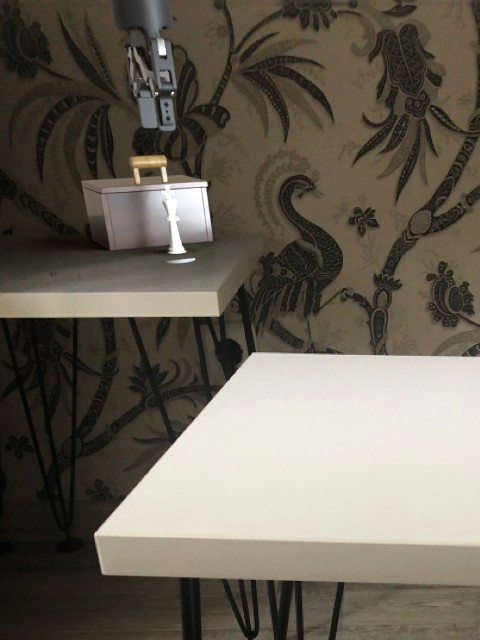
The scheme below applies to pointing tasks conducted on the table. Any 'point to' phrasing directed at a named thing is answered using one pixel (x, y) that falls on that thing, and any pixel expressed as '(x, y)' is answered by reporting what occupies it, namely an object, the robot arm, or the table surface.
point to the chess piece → (173, 226)
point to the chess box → (146, 217)
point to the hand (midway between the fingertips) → (158, 129)
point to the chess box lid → (144, 178)
